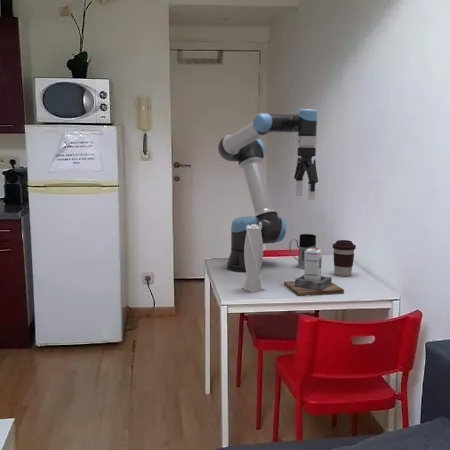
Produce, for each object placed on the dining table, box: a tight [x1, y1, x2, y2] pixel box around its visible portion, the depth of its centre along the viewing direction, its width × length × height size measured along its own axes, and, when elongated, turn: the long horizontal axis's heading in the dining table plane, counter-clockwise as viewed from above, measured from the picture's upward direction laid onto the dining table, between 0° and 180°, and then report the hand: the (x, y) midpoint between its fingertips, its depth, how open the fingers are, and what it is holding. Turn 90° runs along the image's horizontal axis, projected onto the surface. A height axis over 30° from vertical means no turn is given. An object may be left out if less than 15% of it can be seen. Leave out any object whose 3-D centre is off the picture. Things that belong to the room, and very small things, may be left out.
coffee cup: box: [332, 239, 357, 277], centre depth 252 cm, size 10×10×15 cm
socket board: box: [283, 274, 345, 297], centre depth 228 cm, size 16×19×4 cm
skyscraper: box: [241, 222, 266, 293], centre depth 224 cm, size 8×8×28 cm
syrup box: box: [303, 248, 323, 282], centre depth 227 cm, size 6×6×14 cm
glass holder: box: [288, 233, 317, 270], centre depth 264 cm, size 9×14×15 cm, turn 117°
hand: (305, 197), depth 241 cm, fingers open, 13 cm apart
